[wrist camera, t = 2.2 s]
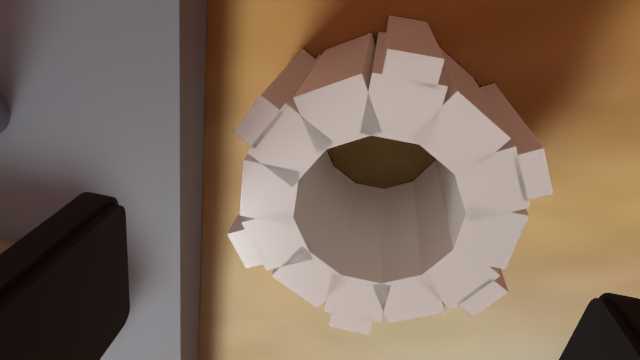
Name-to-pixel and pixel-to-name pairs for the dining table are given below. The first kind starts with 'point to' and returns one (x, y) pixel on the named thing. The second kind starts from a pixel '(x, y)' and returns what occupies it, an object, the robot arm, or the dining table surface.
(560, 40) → the dining table surface
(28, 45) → the gear board
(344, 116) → the loose gear
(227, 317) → the dining table surface
